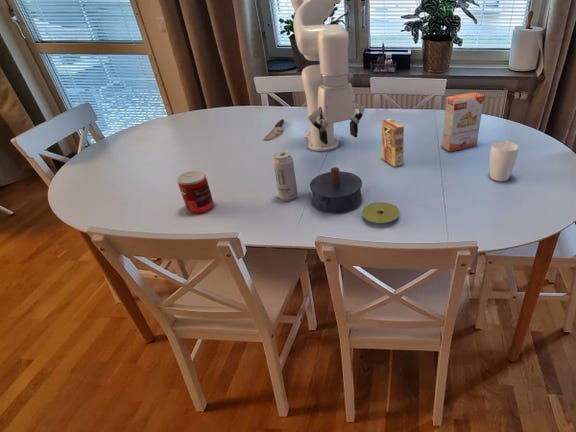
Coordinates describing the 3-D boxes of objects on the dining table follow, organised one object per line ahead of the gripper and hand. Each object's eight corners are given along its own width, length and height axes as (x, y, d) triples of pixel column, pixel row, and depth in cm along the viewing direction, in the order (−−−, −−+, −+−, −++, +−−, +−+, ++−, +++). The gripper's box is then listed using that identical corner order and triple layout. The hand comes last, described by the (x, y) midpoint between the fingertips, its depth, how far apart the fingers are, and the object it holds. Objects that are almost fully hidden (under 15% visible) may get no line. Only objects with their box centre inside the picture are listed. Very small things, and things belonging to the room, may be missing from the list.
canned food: (191, 201, 125) (181, 171, 119) (217, 200, 126) (208, 170, 119) (183, 215, 119) (172, 183, 113) (210, 213, 119) (201, 182, 113)
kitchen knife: (273, 139, 165) (262, 137, 165) (273, 143, 166) (262, 140, 166) (291, 120, 182) (281, 118, 182) (291, 123, 183) (281, 121, 183)
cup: (513, 173, 141) (519, 142, 134) (511, 185, 134) (518, 152, 127) (487, 169, 143) (492, 138, 137) (484, 180, 136) (489, 149, 130)
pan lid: (300, 195, 119) (298, 177, 115) (323, 171, 132) (322, 154, 128) (350, 204, 115) (349, 185, 111) (369, 178, 127) (368, 161, 124)
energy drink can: (275, 199, 126) (267, 157, 118) (286, 190, 131) (279, 149, 122) (291, 203, 124) (284, 160, 116) (301, 194, 129) (295, 152, 120)
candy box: (403, 164, 147) (404, 125, 138) (394, 167, 145) (395, 128, 136) (390, 156, 153) (390, 118, 144) (381, 158, 151) (381, 120, 142)
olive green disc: (368, 204, 124) (368, 199, 123) (403, 210, 121) (403, 204, 120) (356, 224, 115) (356, 218, 114) (393, 230, 112) (393, 225, 111)
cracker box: (449, 153, 155) (455, 100, 143) (441, 147, 160) (445, 96, 148) (477, 146, 160) (485, 95, 149) (468, 141, 165) (475, 91, 153)
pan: (300, 212, 120) (298, 197, 117) (329, 181, 136) (327, 167, 133) (346, 221, 116) (345, 205, 113) (370, 188, 132) (370, 173, 129)
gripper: (356, 72, 112) (358, 129, 122) (299, 81, 105) (307, 141, 114) (369, 78, 107) (371, 137, 117) (311, 88, 99) (317, 150, 109)
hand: (339, 139), depth 115 cm, fingers open, 9 cm apart
